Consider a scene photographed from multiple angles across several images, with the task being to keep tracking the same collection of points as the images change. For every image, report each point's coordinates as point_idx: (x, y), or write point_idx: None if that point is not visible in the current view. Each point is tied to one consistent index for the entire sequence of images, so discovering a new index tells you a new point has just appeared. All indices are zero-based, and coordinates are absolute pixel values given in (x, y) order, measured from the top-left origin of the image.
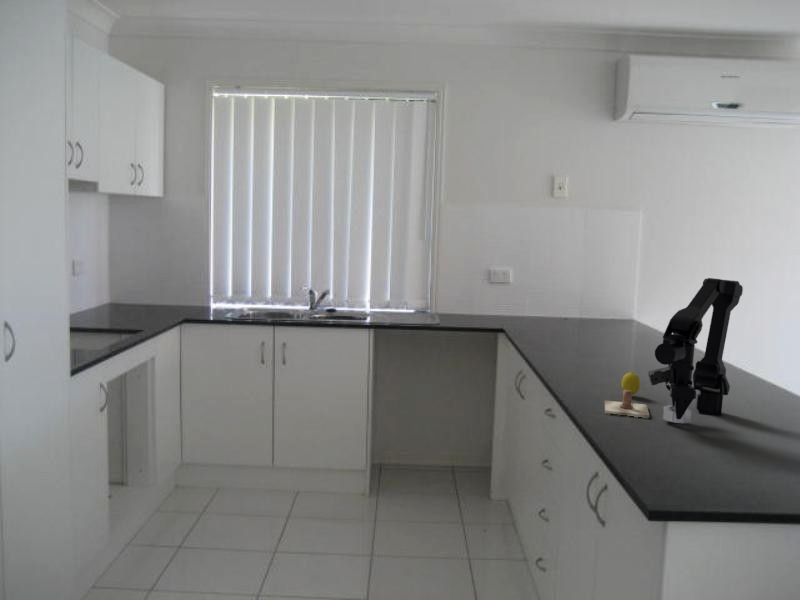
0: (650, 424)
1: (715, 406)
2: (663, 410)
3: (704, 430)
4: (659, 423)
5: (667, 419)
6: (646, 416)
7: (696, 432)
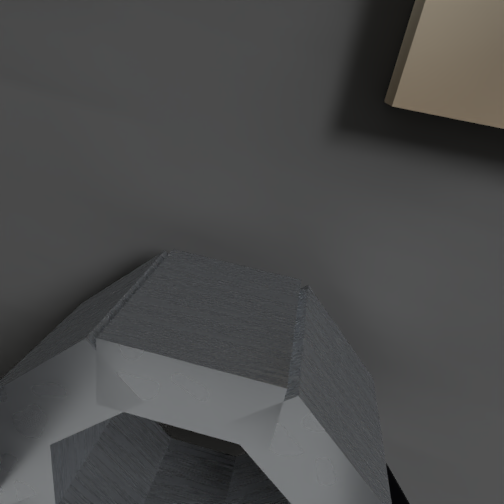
0: (91, 36)
1: None
2: (276, 332)
3: None
4: (179, 181)
5: (119, 280)
6: (403, 53)
7: None
